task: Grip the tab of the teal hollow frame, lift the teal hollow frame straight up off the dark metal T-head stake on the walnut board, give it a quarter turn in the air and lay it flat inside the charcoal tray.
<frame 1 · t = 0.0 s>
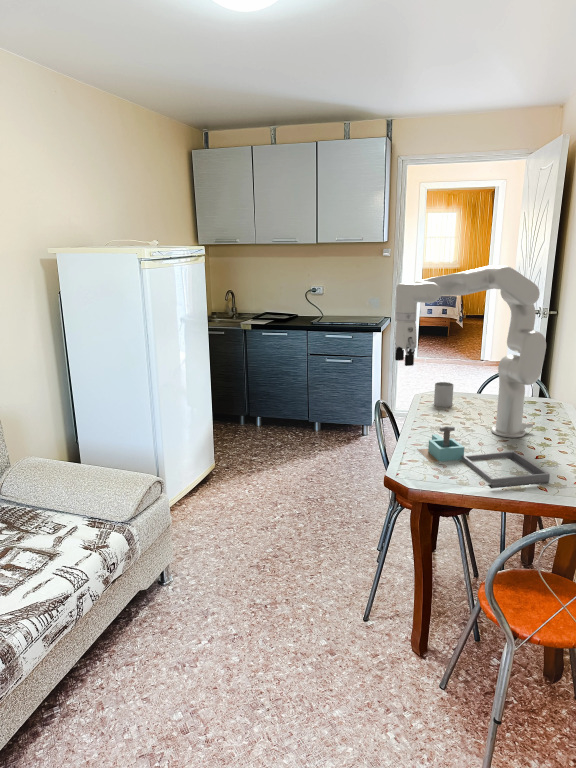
hand: (404, 362, 196), 31 cm above the table, tool pointing down, fingers open, 9 cm apart
teal hollow frame: (445, 455, 186), point 1 cm above the table, touching stake board
tray: (503, 472, 174), on the table
stake board: (439, 458, 187), on the table
cup: (443, 405, 250), on the table
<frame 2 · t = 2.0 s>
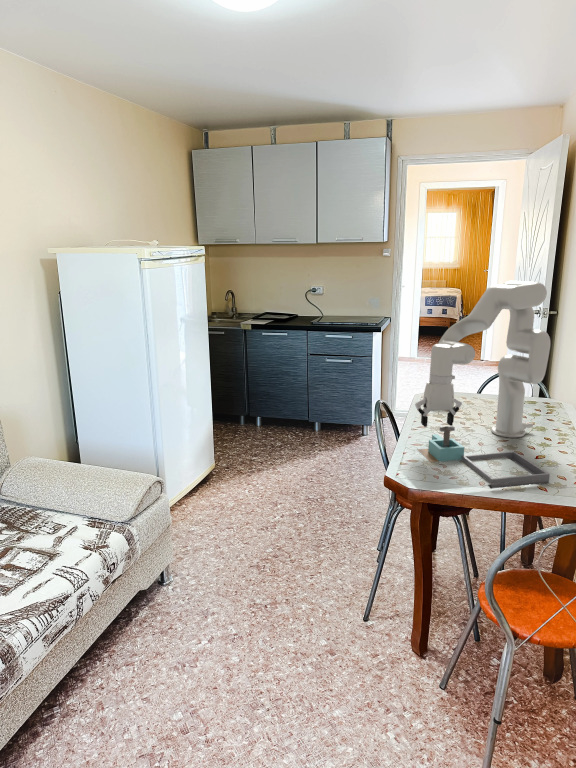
hand: (437, 425, 190), 11 cm above the table, tool pointing down, fingers open, 9 cm apart
nothing on the table moved.
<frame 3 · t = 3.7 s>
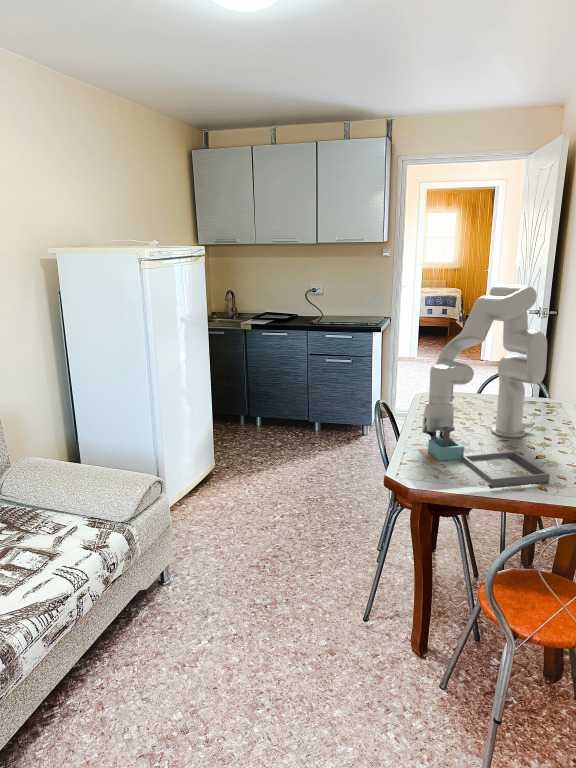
hand: (437, 447, 192), 2 cm above the table, tool pointing down, fingers closed on teal hollow frame
teal hollow frame: (445, 455, 186), point 2 cm above the table, touching gripper
everything else where it was.
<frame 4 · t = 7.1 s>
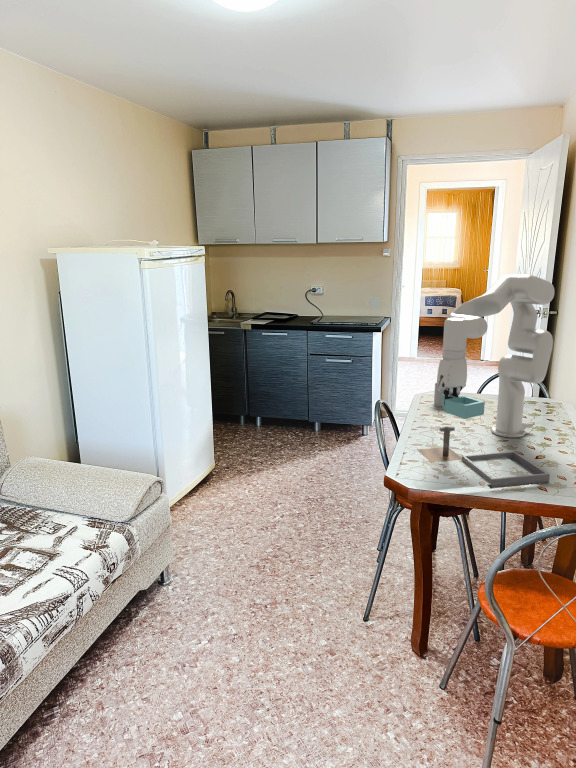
hand: (450, 405, 183), 19 cm above the table, tool pointing down, fingers closed on teal hollow frame
teal hollow frame: (463, 413, 179), point 18 cm above the table, touching gripper
everything else where it was.
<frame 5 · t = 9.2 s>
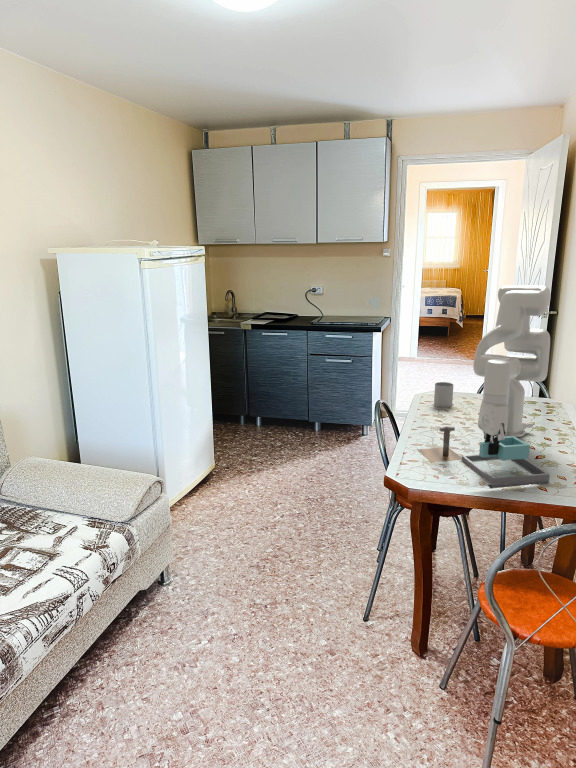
hand: (490, 452, 171), 8 cm above the table, tool pointing down, fingers closed on teal hollow frame
teal hollow frame: (507, 454, 172), point 7 cm above the table, touching gripper
everything else where it was.
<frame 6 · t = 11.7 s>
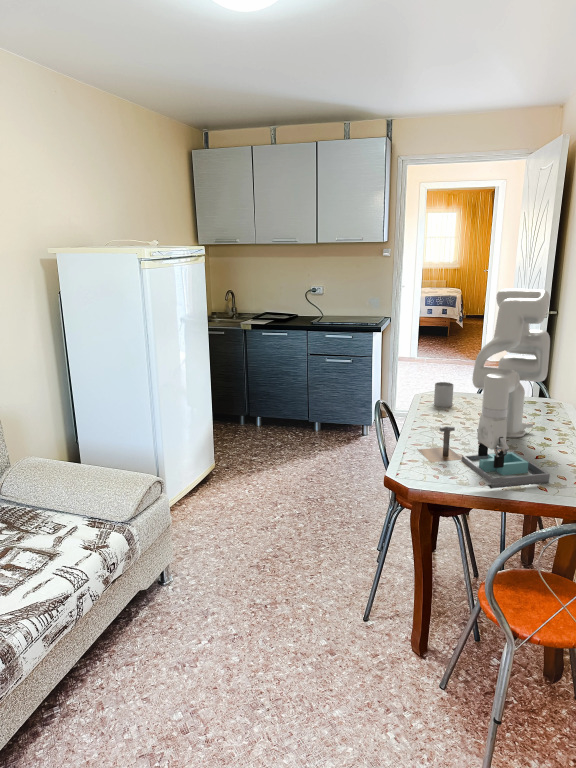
hand: (490, 461, 173), 4 cm above the table, tool pointing down, fingers open, 9 cm apart
teal hollow frame: (506, 470, 174), point 1 cm above the table
everything else where it was.
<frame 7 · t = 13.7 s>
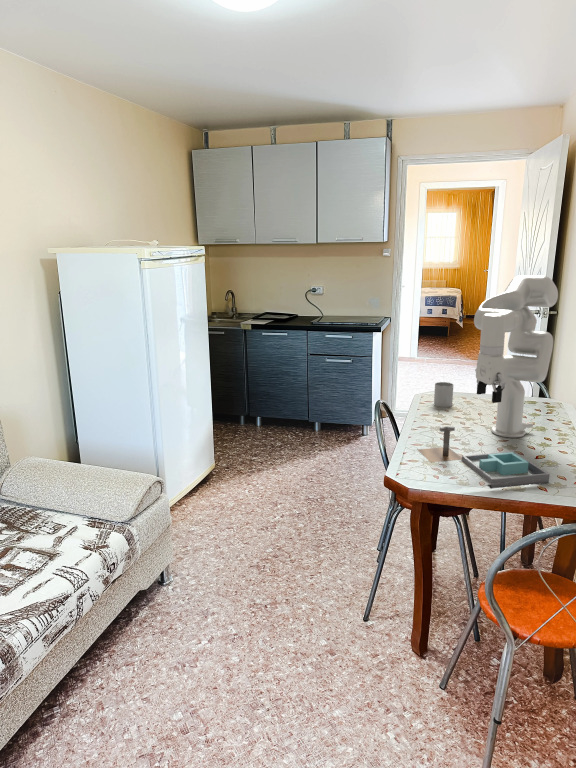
hand: (488, 398, 182), 22 cm above the table, tool pointing down, fingers open, 9 cm apart
teal hollow frame: (506, 470, 174), point 1 cm above the table, touching tray
everything else where it was.
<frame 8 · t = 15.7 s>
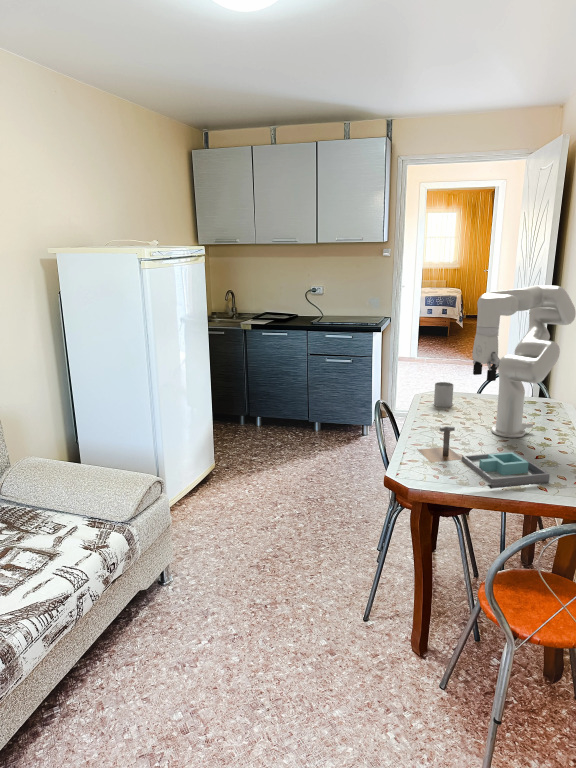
hand: (484, 377, 192), 26 cm above the table, tool pointing down, fingers open, 9 cm apart
nothing on the table moved.
at the end: teal hollow frame inside the target area on the tray (0.3 cm from its centre), point 0.6 cm above the tray's base; teal hollow frame tilted 0°; the gripper is holding nothing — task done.
